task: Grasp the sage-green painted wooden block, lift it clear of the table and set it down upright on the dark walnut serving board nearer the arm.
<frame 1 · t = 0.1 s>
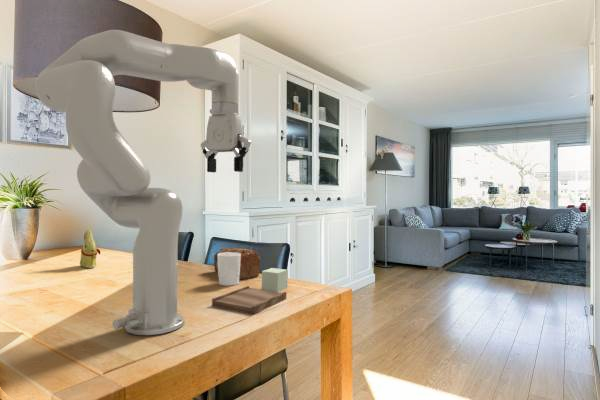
hand: (224, 171, 106), 37 cm above the table, tool pointing down, fingers open, 9 cm apart
sage block: (274, 289, 120), on the table
asparagus bundle: (90, 267, 150), on the table
board: (250, 302, 104), on the table
white cup: (228, 284, 126), on the table
bread: (236, 274, 141), on the table
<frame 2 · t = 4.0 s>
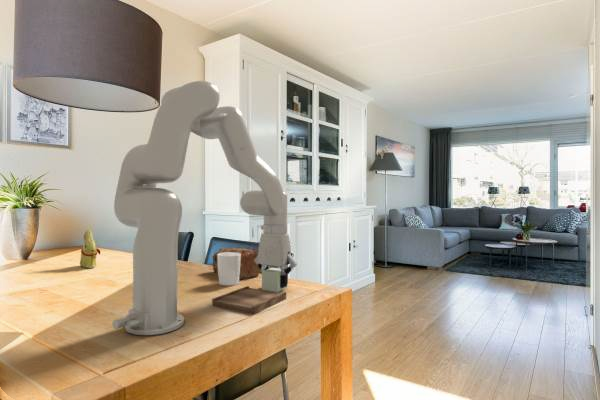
hand: (274, 285, 120), 1 cm above the table, tool pointing down, fingers closed on sage block, 6 cm apart
sage block: (274, 288, 120), on the table, touching gripper
everything else where it was.
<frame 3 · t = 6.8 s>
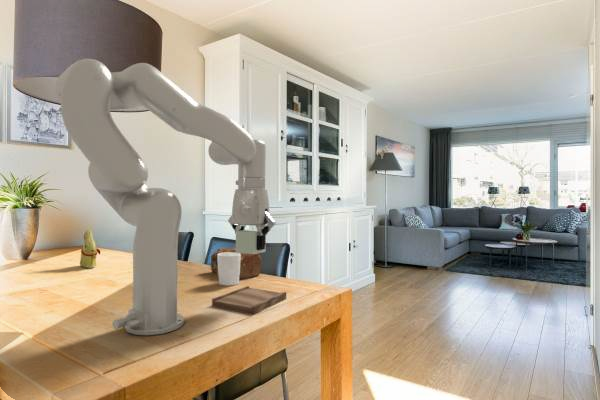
hand: (250, 248, 104), 15 cm above the table, tool pointing down, fingers closed on sage block, 6 cm apart
sage block: (250, 252, 104), point 14 cm above the table, touching gripper
when the fingers open (4 cm above the table, at t = 9.8 s): sage block drops 1 cm, resting on board.
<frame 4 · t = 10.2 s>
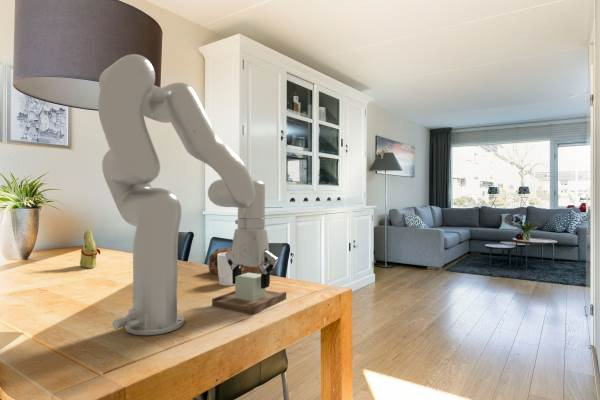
hand: (250, 285, 104), 5 cm above the table, tool pointing down, fingers open, 9 cm apart
sage block: (250, 296, 104), point 1 cm above the table, touching board
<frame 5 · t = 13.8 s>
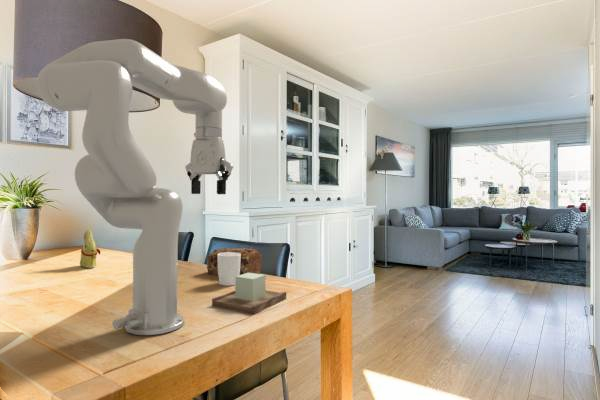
hand: (208, 194, 109), 30 cm above the table, tool pointing down, fingers open, 9 cm apart
at the end: sage block inside the target area on the board (0.1 cm from its centre), point 1.5 cm above the board's base; sage block tilted 0°; the gripper is holding nothing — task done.
